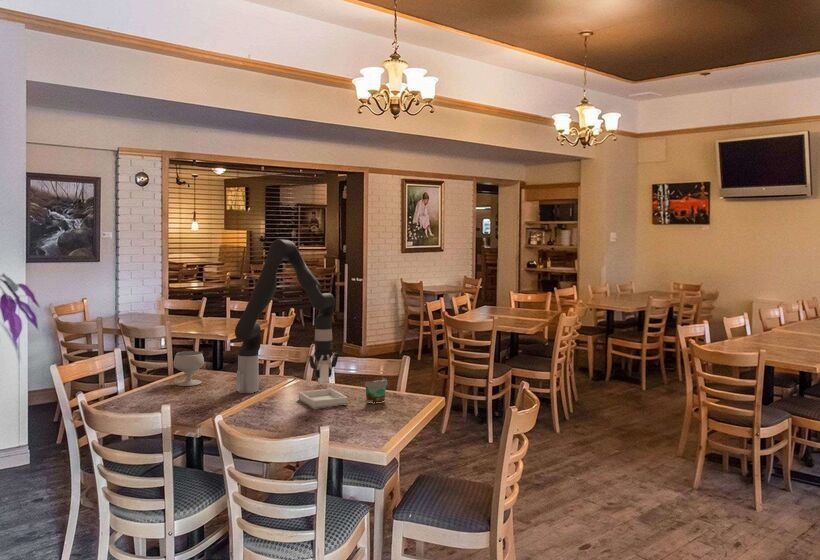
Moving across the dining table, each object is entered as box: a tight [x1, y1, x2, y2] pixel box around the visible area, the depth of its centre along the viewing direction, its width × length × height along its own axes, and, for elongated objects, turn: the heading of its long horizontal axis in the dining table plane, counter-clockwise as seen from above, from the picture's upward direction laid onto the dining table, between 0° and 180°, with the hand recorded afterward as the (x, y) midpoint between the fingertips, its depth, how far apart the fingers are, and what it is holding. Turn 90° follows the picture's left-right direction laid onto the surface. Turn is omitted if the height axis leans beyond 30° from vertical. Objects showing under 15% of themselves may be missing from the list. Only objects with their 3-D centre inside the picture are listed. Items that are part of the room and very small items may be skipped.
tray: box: [298, 388, 349, 410], centre depth 283 cm, size 16×18×4 cm
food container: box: [364, 376, 389, 403], centre depth 284 cm, size 12×6×10 cm, turn 143°
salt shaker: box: [317, 360, 330, 385], centre depth 282 cm, size 5×5×10 cm
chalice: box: [173, 350, 205, 387], centre depth 312 cm, size 14×14×15 cm
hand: (323, 377), depth 282 cm, fingers closed on salt shaker, 4 cm apart
